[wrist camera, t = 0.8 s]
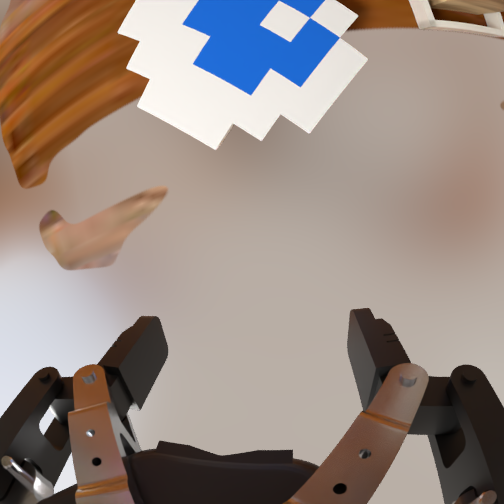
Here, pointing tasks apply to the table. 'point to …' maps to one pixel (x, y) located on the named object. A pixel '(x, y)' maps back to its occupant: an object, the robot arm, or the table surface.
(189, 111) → the pixel art tile
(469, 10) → the tan upright block
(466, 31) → the u-shaped fence
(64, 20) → the table surface
